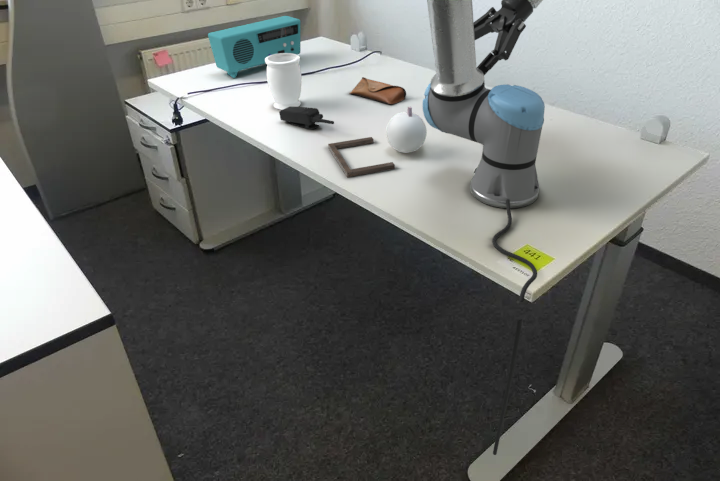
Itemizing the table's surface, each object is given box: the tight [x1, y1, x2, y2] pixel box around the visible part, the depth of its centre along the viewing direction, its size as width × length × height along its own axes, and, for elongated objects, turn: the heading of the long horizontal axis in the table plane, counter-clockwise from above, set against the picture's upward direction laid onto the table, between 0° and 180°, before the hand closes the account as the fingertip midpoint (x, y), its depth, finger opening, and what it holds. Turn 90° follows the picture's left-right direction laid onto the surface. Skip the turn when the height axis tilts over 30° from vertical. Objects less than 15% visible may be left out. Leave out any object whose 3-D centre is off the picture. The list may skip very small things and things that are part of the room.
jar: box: [265, 53, 303, 111], centre depth 168 cm, size 11×10×15 cm
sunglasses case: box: [348, 76, 407, 105], centre depth 176 cm, size 18×7×7 cm, turn 52°
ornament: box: [385, 106, 428, 153], centre depth 141 cm, size 10×10×12 cm
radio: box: [207, 15, 301, 79], centre depth 200 cm, size 34×10×15 cm, turn 132°
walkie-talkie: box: [278, 106, 335, 130], centre depth 156 cm, size 6×6×20 cm
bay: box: [327, 136, 396, 178], centre depth 141 cm, size 18×12×1 cm
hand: (461, 69), depth 136 cm, fingers open, 13 cm apart
